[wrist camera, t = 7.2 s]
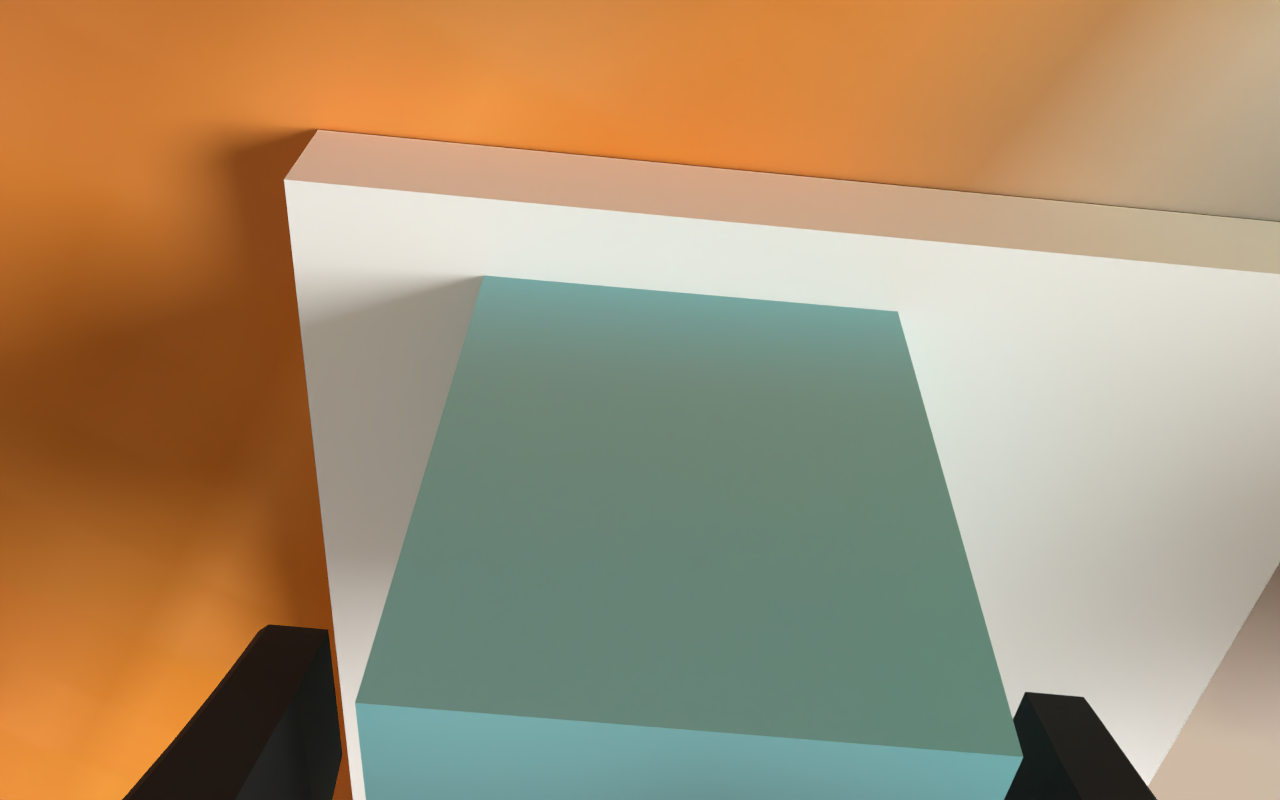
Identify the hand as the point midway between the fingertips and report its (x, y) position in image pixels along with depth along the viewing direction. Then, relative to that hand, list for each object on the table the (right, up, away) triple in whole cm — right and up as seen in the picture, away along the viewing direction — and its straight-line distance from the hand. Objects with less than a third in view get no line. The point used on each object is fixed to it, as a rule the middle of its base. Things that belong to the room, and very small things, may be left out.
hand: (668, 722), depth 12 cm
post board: (+2, -2, +9) cm, 9 cm away
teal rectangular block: (0, +3, +4) cm, 5 cm away
